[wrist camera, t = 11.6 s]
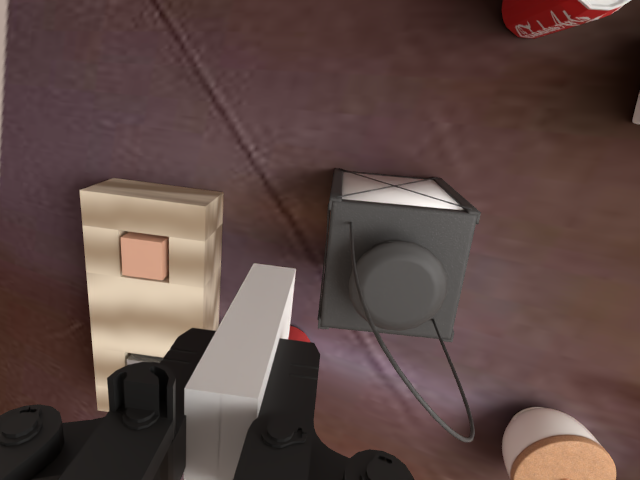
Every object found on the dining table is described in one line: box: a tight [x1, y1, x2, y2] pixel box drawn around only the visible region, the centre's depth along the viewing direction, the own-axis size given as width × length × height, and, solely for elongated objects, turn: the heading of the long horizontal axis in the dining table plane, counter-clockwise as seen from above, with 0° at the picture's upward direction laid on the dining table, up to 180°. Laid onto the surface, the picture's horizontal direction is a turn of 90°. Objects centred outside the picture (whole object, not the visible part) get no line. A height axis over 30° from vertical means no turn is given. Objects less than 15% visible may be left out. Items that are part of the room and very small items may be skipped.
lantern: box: [318, 168, 481, 442], centre depth 31 cm, size 11×11×28 cm
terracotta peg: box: [121, 232, 169, 280], centre depth 43 cm, size 4×4×6 cm
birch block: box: [80, 178, 224, 412], centre depth 46 cm, size 26×12×6 cm, turn 173°
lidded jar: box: [502, 407, 616, 480], centre depth 47 cm, size 11×11×9 cm
